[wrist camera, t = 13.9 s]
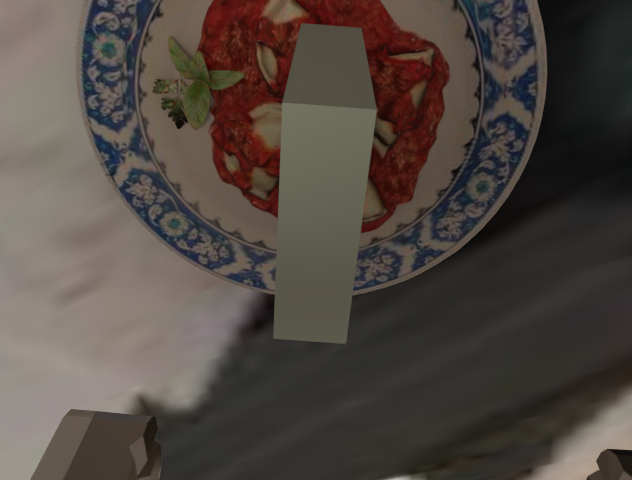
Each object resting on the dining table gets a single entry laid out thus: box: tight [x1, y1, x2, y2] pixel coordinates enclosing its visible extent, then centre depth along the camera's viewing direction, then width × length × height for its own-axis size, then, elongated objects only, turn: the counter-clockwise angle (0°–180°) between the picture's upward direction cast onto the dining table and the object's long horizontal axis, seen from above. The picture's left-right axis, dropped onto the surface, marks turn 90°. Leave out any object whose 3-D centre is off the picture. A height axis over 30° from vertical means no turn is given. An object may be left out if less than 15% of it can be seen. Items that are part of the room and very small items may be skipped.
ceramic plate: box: [76, 0, 547, 295], centre depth 32 cm, size 26×26×3 cm
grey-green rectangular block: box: [273, 23, 377, 344], centre depth 25 cm, size 3×10×12 cm, turn 176°
